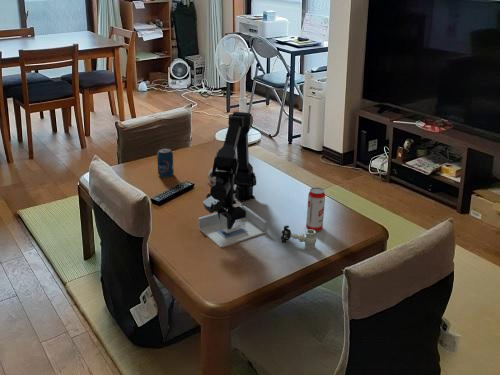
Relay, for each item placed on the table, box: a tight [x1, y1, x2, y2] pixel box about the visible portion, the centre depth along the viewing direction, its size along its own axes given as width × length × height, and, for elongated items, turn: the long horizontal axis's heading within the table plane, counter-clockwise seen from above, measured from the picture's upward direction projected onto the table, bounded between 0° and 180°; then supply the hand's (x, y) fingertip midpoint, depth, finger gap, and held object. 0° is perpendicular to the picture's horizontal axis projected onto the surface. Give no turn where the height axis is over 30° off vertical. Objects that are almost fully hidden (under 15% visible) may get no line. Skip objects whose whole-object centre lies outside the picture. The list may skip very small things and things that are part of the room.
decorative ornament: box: [207, 151, 222, 187], centre depth 248 cm, size 8×8×15 cm
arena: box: [197, 204, 268, 248], centre depth 214 cm, size 20×16×5 cm
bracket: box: [220, 212, 246, 233], centre depth 212 cm, size 8×5×6 cm, turn 123°
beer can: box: [305, 187, 326, 233], centre depth 214 cm, size 6×6×16 cm
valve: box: [280, 225, 317, 251], centre depth 205 cm, size 7×7×12 cm
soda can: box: [156, 147, 175, 179], centre depth 256 cm, size 7×7×12 cm
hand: (225, 226), depth 211 cm, fingers closed on bracket, 5 cm apart
